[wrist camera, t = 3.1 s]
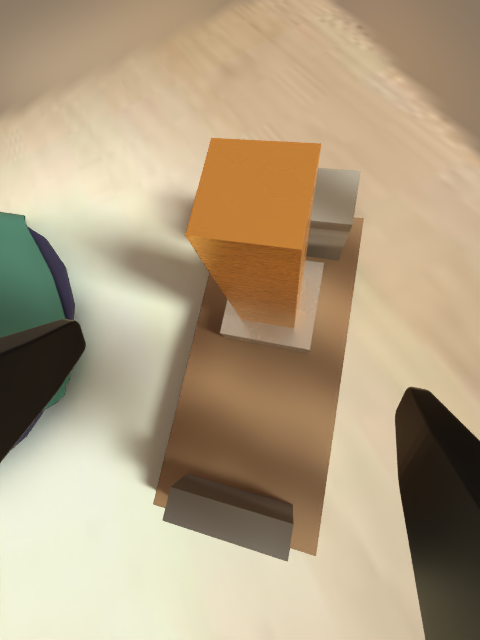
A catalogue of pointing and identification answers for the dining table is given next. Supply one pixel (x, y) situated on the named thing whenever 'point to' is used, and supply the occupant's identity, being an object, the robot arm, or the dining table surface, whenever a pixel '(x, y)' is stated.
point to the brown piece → (265, 406)
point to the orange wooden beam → (260, 238)
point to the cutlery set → (31, 285)
